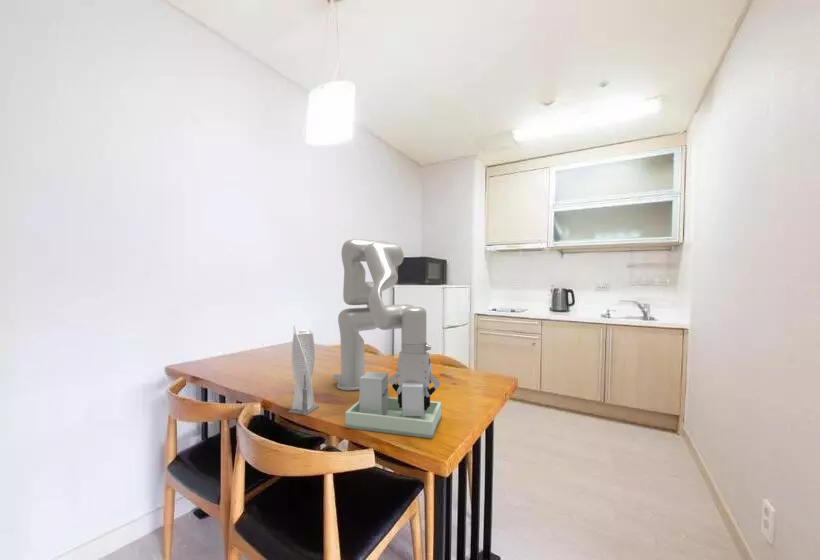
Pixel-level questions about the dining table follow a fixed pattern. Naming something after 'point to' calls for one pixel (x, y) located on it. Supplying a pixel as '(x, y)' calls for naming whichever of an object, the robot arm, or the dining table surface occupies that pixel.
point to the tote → (395, 420)
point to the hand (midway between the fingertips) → (413, 407)
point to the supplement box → (373, 393)
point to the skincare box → (413, 400)
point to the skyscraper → (303, 372)
